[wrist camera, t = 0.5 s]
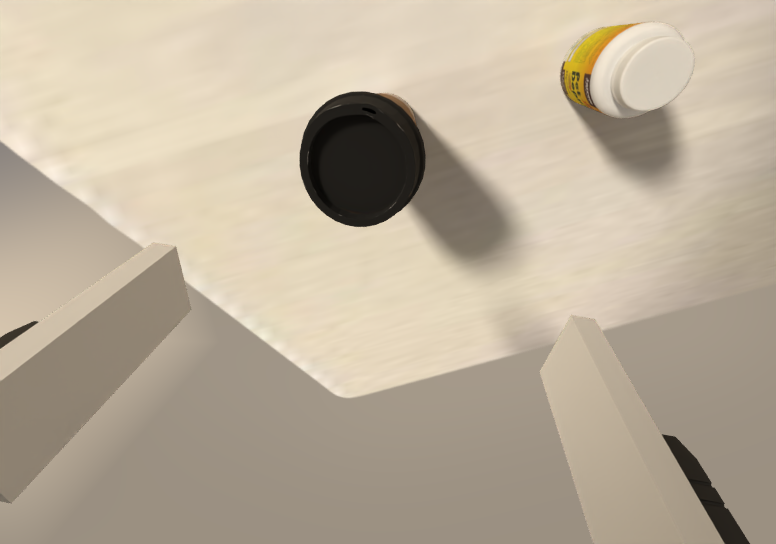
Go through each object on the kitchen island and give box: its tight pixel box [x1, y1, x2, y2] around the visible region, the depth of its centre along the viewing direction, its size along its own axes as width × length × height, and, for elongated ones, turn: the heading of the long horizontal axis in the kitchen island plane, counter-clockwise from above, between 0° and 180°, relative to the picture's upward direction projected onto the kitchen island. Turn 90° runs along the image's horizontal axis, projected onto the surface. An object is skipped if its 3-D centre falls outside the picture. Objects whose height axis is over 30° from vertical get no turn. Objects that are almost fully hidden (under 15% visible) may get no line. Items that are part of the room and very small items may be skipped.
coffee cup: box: [300, 92, 425, 227], centre depth 27 cm, size 8×8×15 cm
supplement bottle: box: [560, 22, 695, 118], centre depth 25 cm, size 6×6×10 cm
